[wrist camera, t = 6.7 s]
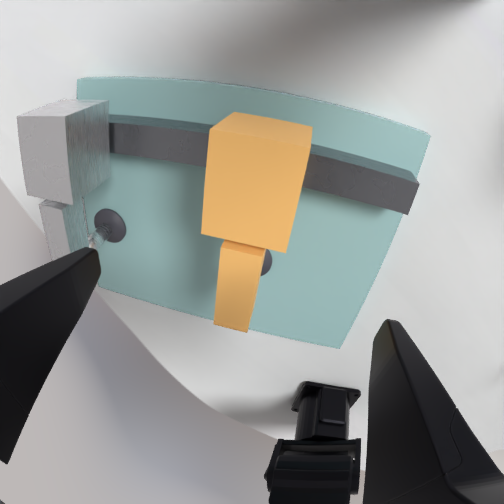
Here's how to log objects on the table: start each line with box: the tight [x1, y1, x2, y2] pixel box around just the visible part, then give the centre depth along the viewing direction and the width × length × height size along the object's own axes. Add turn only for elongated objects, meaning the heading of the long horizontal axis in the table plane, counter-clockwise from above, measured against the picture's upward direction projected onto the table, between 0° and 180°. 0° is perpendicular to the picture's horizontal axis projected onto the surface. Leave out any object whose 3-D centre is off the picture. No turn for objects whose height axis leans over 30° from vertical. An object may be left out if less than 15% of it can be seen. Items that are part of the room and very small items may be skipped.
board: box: [77, 77, 430, 349], centre depth 23 cm, size 19×23×1 cm
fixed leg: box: [17, 100, 112, 261], centre depth 18 cm, size 11×4×6 cm, turn 172°
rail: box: [109, 114, 419, 215], centre depth 18 cm, size 2×22×2 cm, turn 82°
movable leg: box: [201, 112, 313, 333], centre depth 17 cm, size 11×4×6 cm, turn 172°
